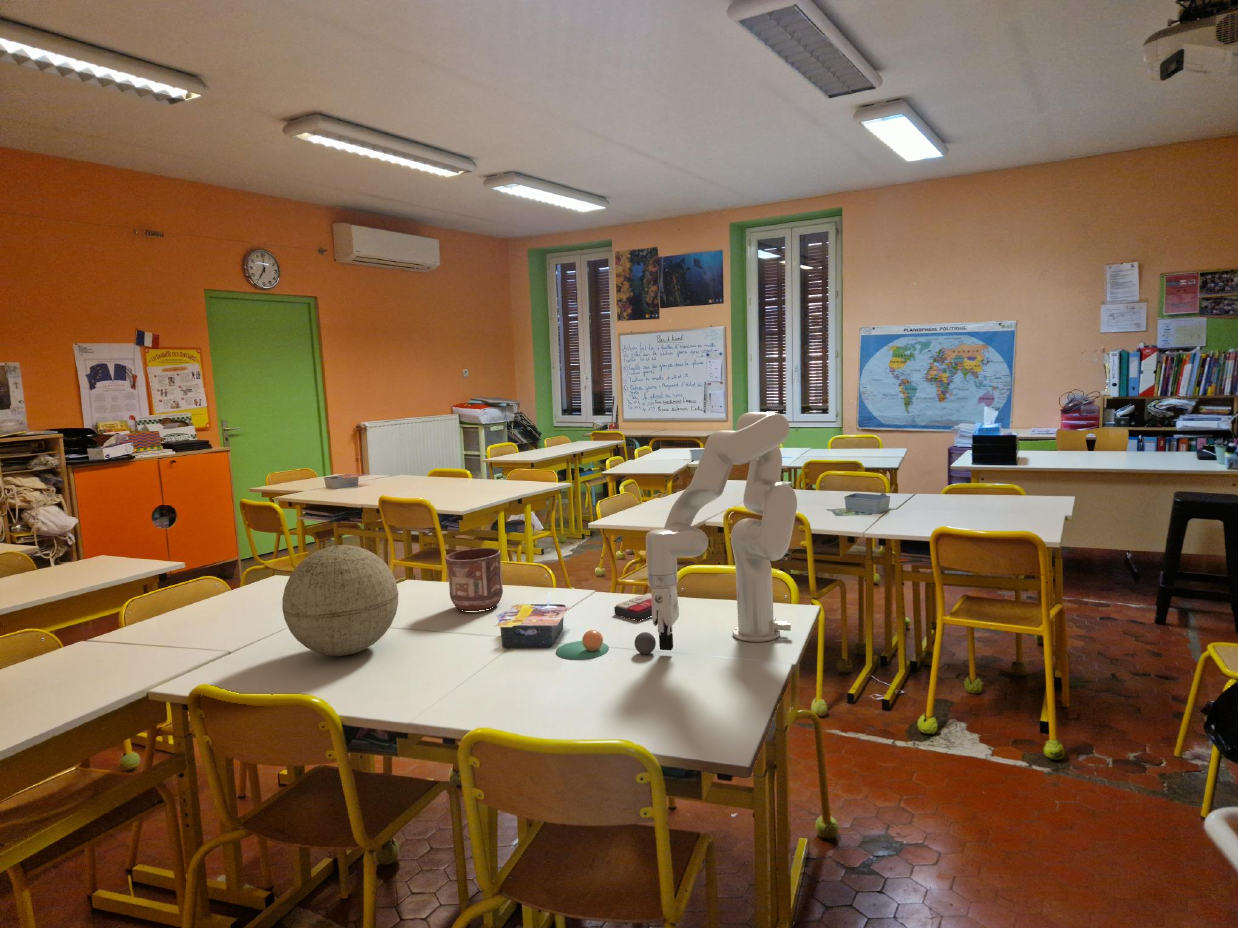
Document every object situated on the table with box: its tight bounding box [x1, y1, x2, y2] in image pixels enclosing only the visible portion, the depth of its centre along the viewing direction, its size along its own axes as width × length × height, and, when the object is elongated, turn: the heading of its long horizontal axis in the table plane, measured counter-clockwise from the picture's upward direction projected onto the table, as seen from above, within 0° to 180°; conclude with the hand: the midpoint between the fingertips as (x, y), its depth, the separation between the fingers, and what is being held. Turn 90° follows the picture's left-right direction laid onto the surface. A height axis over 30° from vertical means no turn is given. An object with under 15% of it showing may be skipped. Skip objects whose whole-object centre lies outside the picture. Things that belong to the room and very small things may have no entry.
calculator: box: [613, 592, 652, 622], centre depth 230 cm, size 11×4×15 cm
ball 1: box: [581, 629, 604, 651], centre depth 198 cm, size 6×6×6 cm
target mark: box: [555, 640, 610, 661], centre depth 200 cm, size 14×14×1 cm
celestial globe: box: [281, 544, 399, 657], centre depth 207 cm, size 30×30×30 cm
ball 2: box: [634, 631, 657, 655], centre depth 194 cm, size 6×6×6 cm
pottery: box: [444, 547, 504, 611], centre depth 245 cm, size 18×18×18 cm
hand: (666, 648), depth 193 cm, fingers closed
